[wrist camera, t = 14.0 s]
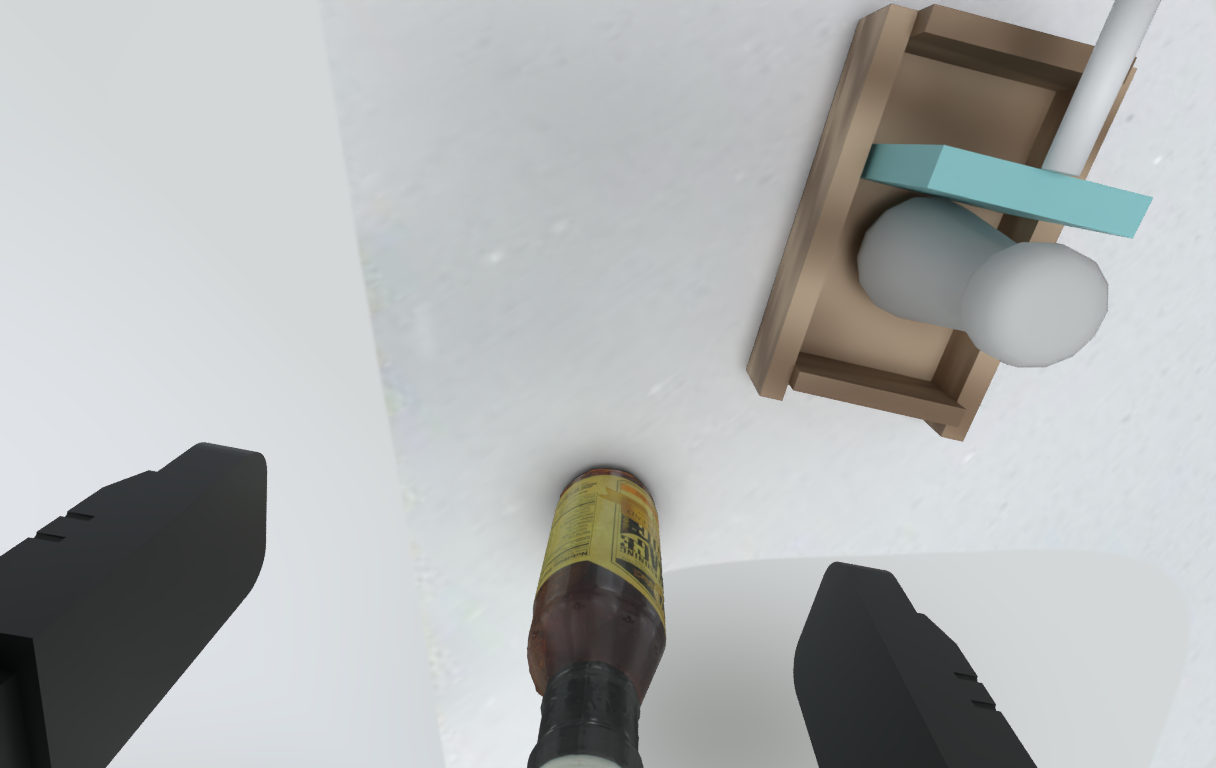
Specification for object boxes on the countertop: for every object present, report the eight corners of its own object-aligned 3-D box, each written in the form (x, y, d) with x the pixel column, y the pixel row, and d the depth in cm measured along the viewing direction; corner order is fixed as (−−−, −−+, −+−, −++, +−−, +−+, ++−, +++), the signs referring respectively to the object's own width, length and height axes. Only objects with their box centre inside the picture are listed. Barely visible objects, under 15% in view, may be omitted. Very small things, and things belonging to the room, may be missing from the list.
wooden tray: (858, 20, 31) (905, -4, 26) (1076, 77, 31) (1164, 64, 26) (745, 369, 37) (765, 407, 32) (929, 411, 38) (977, 454, 33)
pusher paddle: (906, 5, 29) (1040, -59, 20) (1071, 49, 30) (1281, 6, 20) (847, 175, 32) (942, 190, 23) (1001, 213, 33) (1157, 243, 23)
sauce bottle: (667, 537, 41) (701, 865, 23) (572, 557, 42) (529, 892, 23) (642, 446, 39) (657, 726, 20) (542, 469, 40) (468, 760, 21)
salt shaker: (940, 172, 32) (1131, 192, 20) (971, 276, 34) (1165, 352, 22) (827, 225, 33) (943, 274, 21) (863, 323, 35) (990, 422, 23)
